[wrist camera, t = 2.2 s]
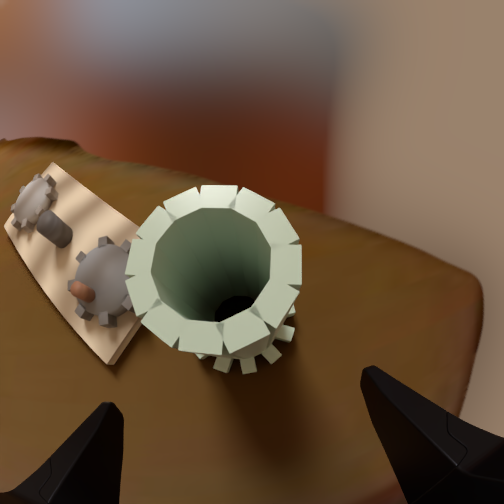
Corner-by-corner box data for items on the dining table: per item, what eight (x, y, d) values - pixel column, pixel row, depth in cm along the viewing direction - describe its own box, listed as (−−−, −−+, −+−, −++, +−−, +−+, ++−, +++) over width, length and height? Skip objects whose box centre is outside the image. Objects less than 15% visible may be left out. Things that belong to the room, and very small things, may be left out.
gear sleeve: (312, 304, 21) (370, 227, 9) (255, 393, 19) (243, 437, 7) (227, 253, 23) (193, 139, 11) (169, 333, 21) (67, 289, 9)
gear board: (186, 262, 23) (169, 238, 19) (113, 365, 20) (82, 362, 15) (57, 167, 29) (39, 145, 25) (9, 229, 26) (-13, 213, 21)
